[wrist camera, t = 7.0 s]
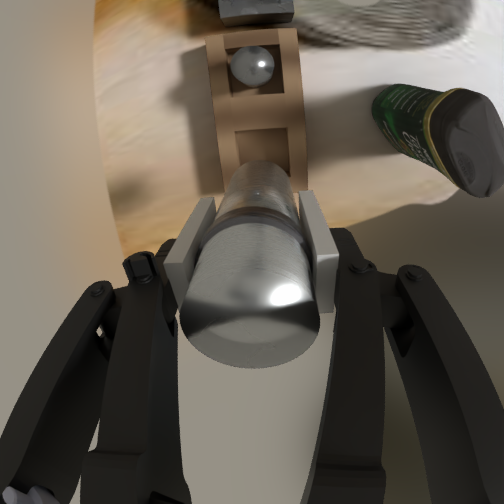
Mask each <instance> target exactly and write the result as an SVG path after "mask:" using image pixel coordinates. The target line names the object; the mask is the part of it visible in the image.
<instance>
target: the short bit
mask: <svg viewBox="0 0 504 504" xmlns="http://www.w3.org/2000/svg"><path fill="white" fill-rule="evenodd" d="M230 66H231V71H232V73H233V75H234V76H235V77H236V78H237V79H238V80H239V81H241V82H242V83H244V84H245V85H247V86H249V87H253V88H259V87H262V86H265V85H266V84H268V83H269V81H270V80H271V78H272V75H273V70H274V60H273V57H272V56H271V54H270V53H269V52H268V51H267V50H266V49H264V48H262V47H259V46H246V47H243V48H241V49H239V50H238V51H237V52H236V53H235V54H234V55H233V57H232V59H231V64H230Z"/></svg>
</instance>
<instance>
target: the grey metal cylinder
mask: <svg viewBox="0 0 504 504" xmlns="http://www.w3.org/2000/svg"><path fill="white" fill-rule="evenodd" d="M312 275H313V260H312V256H311V252H310V248H309V244H308V240H307V238H306V236H305V234H304V232H303V230H302V229H301V224H300V220H299V216H298V212H297V207H296V203H295V199H294V195H293V191H292V187H291V183H290V180H289V178H288V176H287V174H286V173H285V171H284V170H283V169H282V168H281V167H279V166H278V165H277V164H275V163H273V162H270V161H266V160H254V161H250V162H247V163H245V164H243V165H242V166H240V167H239V168H238V169H237V170H236V171H235V173H234V174H233V176H232V178H231V180H230V183H229V185H228V187H227V190H226V192H225V194H224V197H223V199H222V201H221V204H220V206H219V209H218V211H217V214H216V216H215V218H214V221H213V223H212V224H211V225H210V226H209V228H208V229H207V230H206V232H205V234H204V236H203V239H202V241H201V243H200V246H199V248H198V251H197V254H196V257H195V263H194V272H193V275H192V277H191V280H190V283H189V285H188V288H187V291H186V294H185V296H184V299H183V302H182V305H181V308H180V316H179V317H180V324H181V327H182V330H183V332H184V334H185V336H186V338H187V339H188V341H190V343H191V344H192V345H193V346H194V347H195V348H196V349H197V350H198V351H200V352H201V353H203V354H204V355H206V356H207V357H209V358H211V359H213V360H215V361H217V362H220V363H223V364H226V365H230V366H234V367H240V368H267V367H272V366H277V365H281V364H284V363H287V362H289V361H291V360H293V359H295V358H297V357H298V356H300V355H301V354H303V353H304V352H305V351H306V350H307V349H308V348H309V347H310V346H311V345H312V344H313V342H314V341H315V339H316V337H317V335H318V332H319V328H320V316H319V311H318V305H317V300H316V295H315V290H314V285H313V280H312Z"/></svg>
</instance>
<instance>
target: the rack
mask: <svg viewBox="0 0 504 504" xmlns="http://www.w3.org/2000/svg"><path fill="white" fill-rule="evenodd" d="M205 43H206V51H207V60H208V69H209V77H210V85H211V93H212V101H213V109H214V117H215V125H216V132H217V140H218V147H219V155H220V162H221V169H222V176H223V183H224V190H225V192H226V190H227V187H228V185H229V183H230V180H231V178H232V176H233V174H234V173H235V171H236V170H237V169H238V168H239V167H240V166H242V165H243V164H245V163H247V162H250V161H254V160H266V161H270V162H273V163H275V164H277V165H278V166H279V167H281V168H282V169H283V170H284V171H285V173H286V174H287V176H288V178H289V180H290V183H291V187H292V191H293V193H299V191H306V190H308V172H307V148H306V130H305V114H304V100H303V88H302V77H301V67H300V57H299V48H298V39H297V31H296V28H282V29H263V30H251V31H241V32H233V33H226V34H219V35H213V36H207V37H205ZM246 46H259V47H262V48H264V49H266V50H267V51H268V52H269V53H270V54H271V56H272V57H273V60H274V70H273V75H272V78H271V80H270V81H269V83H268V84H266V85H265V86H262V87H259V88H253V87H249V86H247V85H245V84H244V83H242V82H241V81H239V80H238V79H237V78H236V77H235V76H234V75H233V73H232V71H231V66H230V64H231V59H232V57H233V55H234V54H235V53H236V52H237V51H238V50H239V49H241V48H243V47H246Z"/></svg>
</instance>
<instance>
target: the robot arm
mask: <svg viewBox="0 0 504 504" xmlns="http://www.w3.org/2000/svg"><path fill="white" fill-rule="evenodd" d="M216 214H217V213H216V206H215V200H214V197H208V198H201V199H200V201H199V202H198V204H197V205H196V207H195V209H194V210H193V212H192V214H191V215H190V217H189V219H188V221H187V222H186V224H185V226H184V227H183V229H182V231H181V233H180V234H179V236H178V238H177V239H169V240H167V241H166V242H165V243H164V244H162V245H161V247H160V249H159V250H158V252H157V253H156V255H155V256H154V254H153V253H152V252H148V251H143V252H138V253H135V254H133V255H131V256H129V257H128V258H126V259H125V260H124V262H123V267H124V269H125V272H126V275H127V277H128V280H129V283H128V286H125V287H121V288H117V289H113V287H112V285H111V283H110V282H109V281H98V282H95V283H93V284H92V285H91V286H89V287H88V288H87V289H86V290H85V292H84V293H83V294H82V296H81V297H80V299H79V300H78V301H77V303H76V304H75V306H74V307H73V308H72V310H71V311H70V313H69V314H68V316H67V317H66V319H65V320H64V322H63V323H62V325H61V326H60V328H59V329H58V331H57V332H56V334H55V336H54V337H53V339H52V340H51V342H50V343H49V345H48V346H47V348H46V350H45V351H44V353H43V355H42V356H41V358H40V360H39V362H38V363H37V365H36V367H35V368H34V370H33V372H32V374H31V376H30V377H29V379H28V381H27V383H26V385H25V387H24V389H23V391H22V393H21V394H20V397H19V398H18V400H17V402H16V404H15V406H14V409H13V411H12V413H11V415H10V417H9V419H8V422H7V424H6V426H5V429H4V431H3V433H2V435H1V438H0V504H69V503H70V501H71V499H72V497H73V495H74V493H75V490H76V487H77V485H78V482H79V478H80V475H81V487H80V488H81V489H80V504H192V502H191V495H190V491H189V488H188V485H187V483H186V481H185V479H184V475H183V468H182V456H181V443H180V427H179V406H178V361H177V359H178V358H177V356H178V353H177V350H178V349H177V348H178V323H177V320H176V317H175V314H176V312H177V309H178V310H179V313H180V308H181V305H182V302H183V299H184V296H185V294H186V291H187V288H188V285H189V283H190V280H191V277H192V275H193V272H194V263H195V257H196V254H197V251H198V248H199V246H200V243H201V241H202V239H203V236H204V234H205V232H206V230H207V229H208V228H209V226H210V225H211V224H212V223H213V221H214V218H215V216H216ZM299 216H300V224H301V229H302V230H303V232H304V234H305V236H306V238H307V240H308V244H309V248H310V252H311V256H312V260H313V275H312V280H313V285H314V290H315V295H316V300H317V305H318V311H319V313H331V312H333V309H334V303H335V307H336V316H335V323H334V330H333V332H334V334H333V343H332V352H331V359H330V367H329V374H328V381H327V388H326V394H325V400H324V406H323V411H322V417H321V422H320V427H319V432H318V437H317V441H316V446H315V451H314V455H313V459H312V463H311V468H310V472H309V476H308V479H307V483H306V486H305V490H304V493H303V496H302V499H301V503H300V504H383V500H384V494H385V487H386V473H385V470H384V469H383V467H382V464H381V455H382V444H383V430H384V411H385V410H384V409H385V359H384V358H385V357H384V337H383V327H384V329H385V332H386V334H387V337H388V340H389V343H390V346H391V348H392V351H393V354H394V357H395V360H396V362H397V366H398V369H399V372H400V375H401V378H402V381H403V384H404V387H405V391H406V394H407V397H408V400H409V404H410V407H411V411H412V415H413V418H414V422H415V425H416V430H417V434H418V437H419V441H420V446H421V450H422V455H423V459H424V464H425V469H426V475H427V480H428V486H429V492H430V497H431V501H432V504H504V409H503V406H502V404H501V401H500V399H499V397H498V394H497V392H496V390H495V387H494V385H493V383H492V381H491V378H490V376H489V374H488V372H487V370H486V368H485V366H484V364H483V362H482V360H481V358H480V356H479V354H478V352H477V350H476V348H475V347H474V344H473V343H472V341H471V339H470V337H469V335H468V334H467V332H466V330H465V328H464V327H463V325H462V323H461V322H460V320H459V318H458V317H457V315H456V313H455V312H454V310H453V308H452V307H451V305H450V304H449V302H448V300H447V299H446V298H445V296H444V294H443V293H442V291H441V290H440V288H439V287H438V285H437V284H436V282H435V281H434V279H433V278H432V277H431V275H430V274H429V273H428V272H427V271H426V270H425V269H424V268H422V267H420V266H416V265H404V266H402V267H400V268H399V270H398V273H397V275H394V274H386V273H382V272H379V271H377V268H376V266H375V265H374V264H373V263H372V262H371V261H369V260H366V259H364V257H363V255H362V253H361V251H360V249H359V247H358V245H357V243H356V242H355V240H354V237H353V235H352V234H351V232H349V231H348V230H347V229H345V228H328V225H327V223H326V220H325V218H324V216H323V213H322V211H321V209H320V206H319V204H318V202H317V199H316V197H315V195H314V193H313V190H306V191H299ZM98 327H100V328H101V330H102V332H103V333H102V334H101V336H100V337H99V336H98V334H97V332H96V331H97V329H98ZM99 419H100V422H99V432H98V442H97V446H96V448H95V449H94V450H92V451H89V452H88V450H89V447H90V444H91V441H92V438H93V435H94V433H95V430H96V427H97V424H98V421H99Z"/></svg>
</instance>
